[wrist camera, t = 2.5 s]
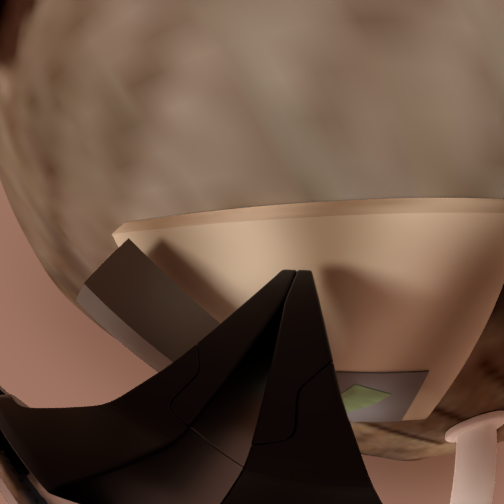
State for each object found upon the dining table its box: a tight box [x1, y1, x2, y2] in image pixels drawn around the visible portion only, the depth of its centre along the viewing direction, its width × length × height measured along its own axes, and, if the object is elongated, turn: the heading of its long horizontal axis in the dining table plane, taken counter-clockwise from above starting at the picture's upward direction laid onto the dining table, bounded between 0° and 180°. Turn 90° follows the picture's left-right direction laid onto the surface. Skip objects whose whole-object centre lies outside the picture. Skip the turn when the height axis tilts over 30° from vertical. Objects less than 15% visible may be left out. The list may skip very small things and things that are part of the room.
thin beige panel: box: [112, 198, 504, 422], centre depth 13 cm, size 16×16×1 cm
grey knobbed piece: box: [76, 238, 220, 372], centre depth 12 cm, size 11×9×3 cm
